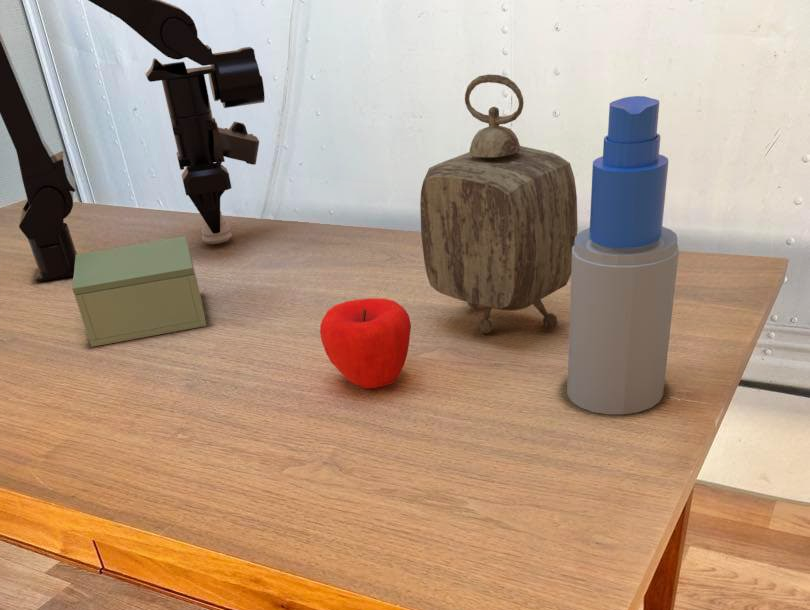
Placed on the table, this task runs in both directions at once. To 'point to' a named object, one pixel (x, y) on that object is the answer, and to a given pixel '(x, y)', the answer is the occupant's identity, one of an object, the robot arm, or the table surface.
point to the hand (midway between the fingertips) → (215, 228)
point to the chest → (142, 310)
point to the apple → (367, 340)
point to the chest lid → (131, 265)
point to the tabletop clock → (499, 219)
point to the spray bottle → (623, 271)
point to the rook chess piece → (216, 237)
